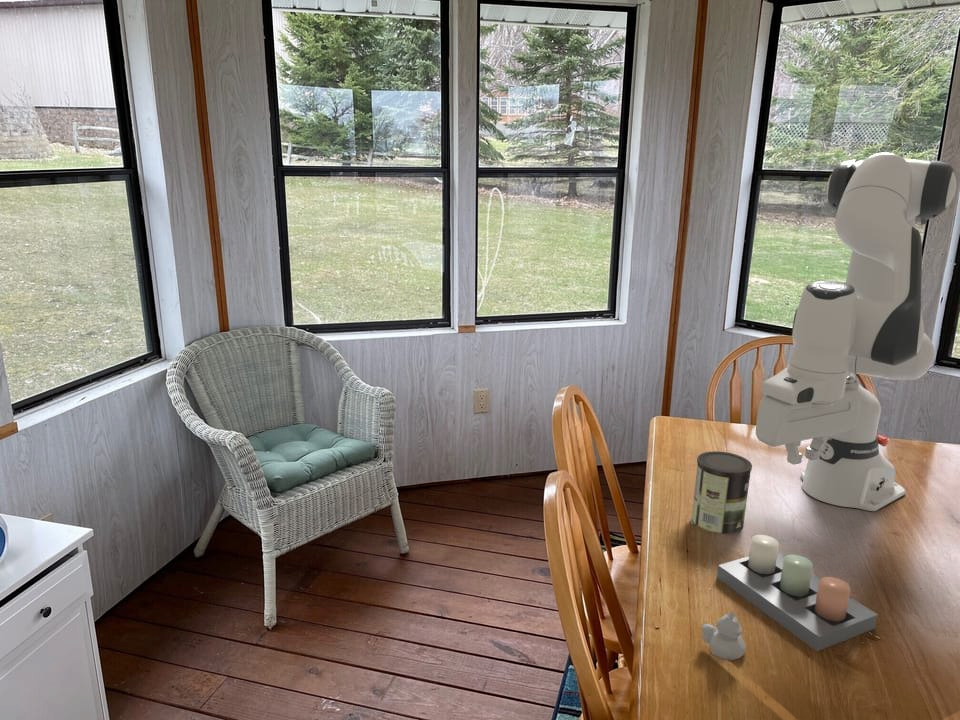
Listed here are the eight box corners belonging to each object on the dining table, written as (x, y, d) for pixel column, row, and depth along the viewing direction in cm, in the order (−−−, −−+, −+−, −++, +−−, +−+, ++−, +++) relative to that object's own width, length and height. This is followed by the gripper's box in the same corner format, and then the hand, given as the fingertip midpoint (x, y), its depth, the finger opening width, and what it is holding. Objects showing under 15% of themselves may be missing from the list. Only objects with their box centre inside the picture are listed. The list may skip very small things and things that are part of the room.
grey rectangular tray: (770, 565, 132) (773, 548, 131) (874, 633, 114) (877, 614, 113) (716, 582, 127) (718, 565, 126) (815, 656, 109) (819, 637, 108)
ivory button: (761, 557, 128) (764, 532, 127) (780, 570, 124) (784, 544, 123) (742, 563, 126) (745, 538, 125) (761, 576, 123) (765, 550, 121)
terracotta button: (827, 601, 116) (832, 574, 115) (851, 616, 112) (857, 589, 111) (808, 608, 114) (813, 580, 113) (832, 624, 110) (837, 596, 109)
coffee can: (739, 515, 150) (748, 453, 146) (746, 541, 140) (756, 475, 136) (688, 510, 152) (695, 448, 148) (692, 534, 142) (699, 469, 138)
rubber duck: (737, 673, 105) (743, 626, 103) (693, 653, 109) (698, 608, 107) (749, 653, 109) (755, 607, 107) (706, 635, 113) (712, 591, 111)
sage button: (792, 578, 122) (797, 552, 121) (814, 592, 118) (819, 565, 117) (773, 584, 120) (777, 558, 119) (795, 599, 117) (799, 572, 115)
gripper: (842, 369, 124) (830, 444, 128) (754, 384, 116) (743, 463, 120) (876, 380, 119) (861, 457, 123) (785, 396, 110) (773, 479, 114)
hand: (802, 460), depth 121 cm, fingers open, 3 cm apart
